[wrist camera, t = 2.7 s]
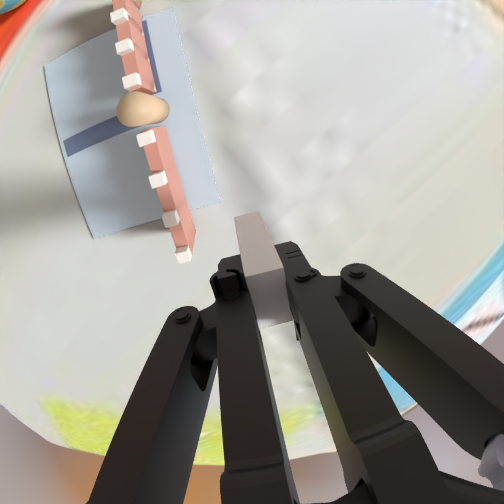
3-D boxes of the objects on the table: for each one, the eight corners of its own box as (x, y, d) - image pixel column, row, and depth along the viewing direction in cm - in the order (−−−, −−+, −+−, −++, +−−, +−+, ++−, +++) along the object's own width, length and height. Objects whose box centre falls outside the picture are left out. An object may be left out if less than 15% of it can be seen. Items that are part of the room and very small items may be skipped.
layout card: (45, 66, 16) (43, 65, 16) (173, 8, 17) (173, 7, 16) (95, 238, 26) (93, 239, 26) (220, 201, 26) (220, 202, 26)
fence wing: (154, 129, 21) (135, 133, 16) (165, 125, 21) (149, 128, 16) (185, 233, 26) (178, 264, 21) (195, 230, 26) (191, 261, 21)
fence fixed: (172, 118, 22) (154, 119, 15) (147, 127, 22) (121, 132, 15) (145, -5, 15) (124, -38, 9) (121, 4, 15) (93, -25, 9)
